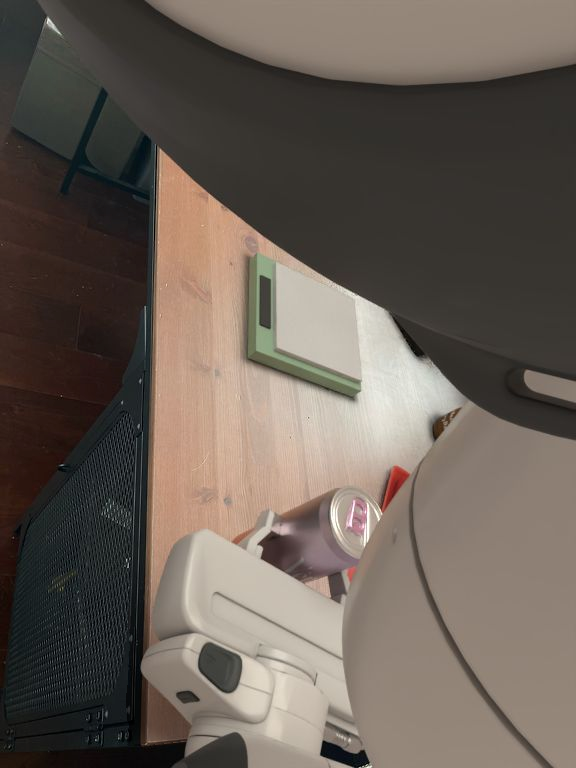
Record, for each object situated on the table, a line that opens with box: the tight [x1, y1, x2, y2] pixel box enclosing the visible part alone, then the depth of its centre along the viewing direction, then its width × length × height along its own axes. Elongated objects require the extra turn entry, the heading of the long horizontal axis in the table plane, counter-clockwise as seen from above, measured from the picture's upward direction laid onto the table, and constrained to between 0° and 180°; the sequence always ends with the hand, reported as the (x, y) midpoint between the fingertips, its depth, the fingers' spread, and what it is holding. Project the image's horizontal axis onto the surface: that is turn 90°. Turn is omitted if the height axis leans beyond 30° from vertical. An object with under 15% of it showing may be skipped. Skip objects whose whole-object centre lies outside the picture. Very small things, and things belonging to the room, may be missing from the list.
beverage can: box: [231, 485, 382, 584], centre depth 52 cm, size 6×6×15 cm
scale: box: [246, 252, 363, 398], centre depth 83 cm, size 17×16×3 cm
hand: (304, 534), depth 52 cm, fingers closed on beverage can, 6 cm apart
